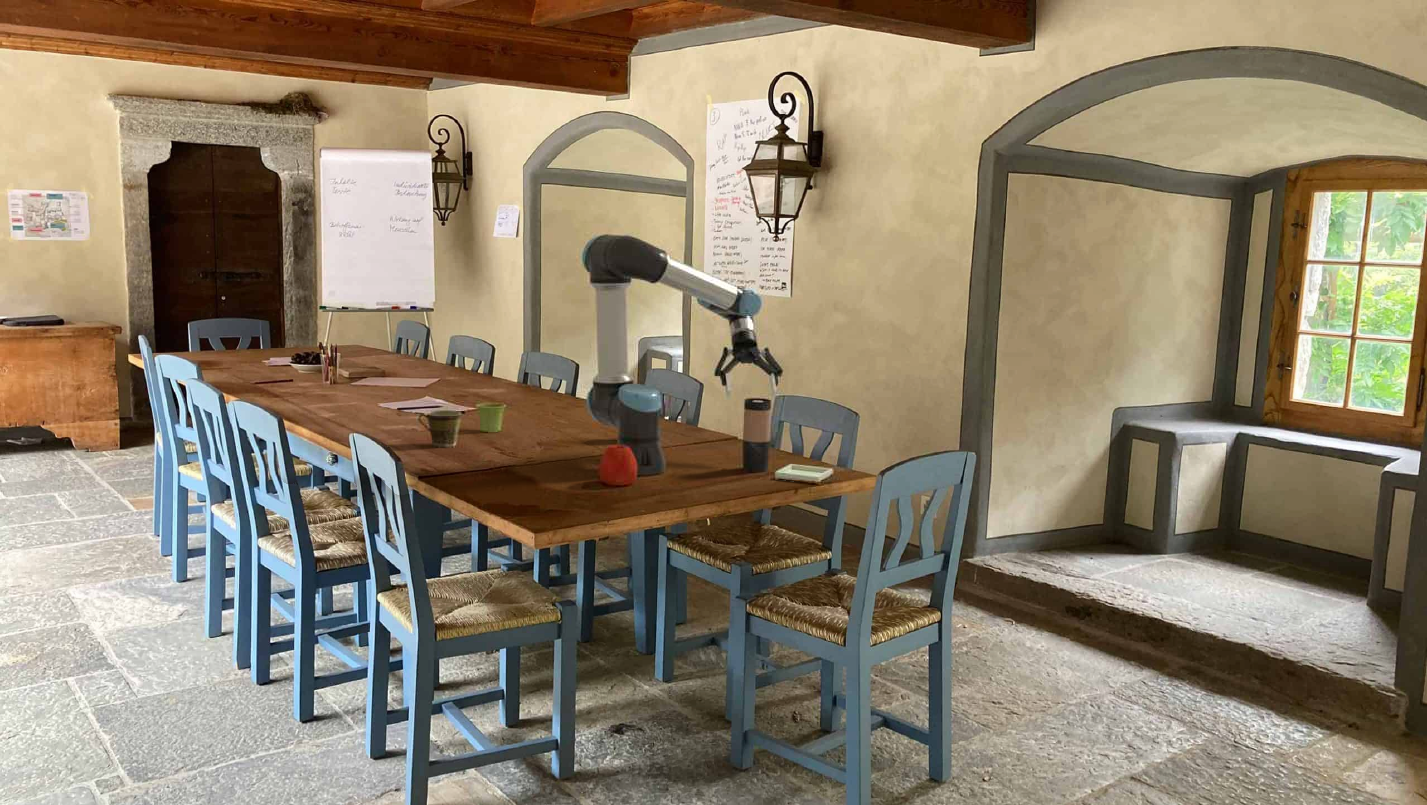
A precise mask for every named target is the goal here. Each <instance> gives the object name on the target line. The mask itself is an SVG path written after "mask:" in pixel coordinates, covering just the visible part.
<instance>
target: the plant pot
mask: <svg viewBox="0 0 1427 805" xmlns="http://www.w3.org/2000/svg"><path fill="white" fill-rule="evenodd" d="M506 406H507V405H506V404H504V403H496V402H495V403H493V402H490V403H489V402H487V403H479V404H476V408H477V411H478V414H479V420H480V421H479V422H480V429H481V432H483V433H485V432H487V433H498V432H501V431H502V423H503V416H504V411H505V408H506Z"/></svg>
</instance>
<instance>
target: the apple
mask: <svg viewBox="0 0 1427 805" xmlns="http://www.w3.org/2000/svg"><path fill="white" fill-rule="evenodd" d="M637 468H638V467H637V462H636V459H635V457H634V454H633V452H632V451H631V449H630V448H629V447H627V446H626V445H617V444H616V445H610V446H608V447H607V448H606V449H605V450H604V452H603V454H602V455H601V459H600V461H599V464H598V474H599V477H600V479H601V481H603V483H605V484H606V485H608V486H614V487H621V486H622V487H623V486H624V487H625V486H629V485H632V484H633V483H635V481H636V479H637V477H638V475H637Z"/></svg>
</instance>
